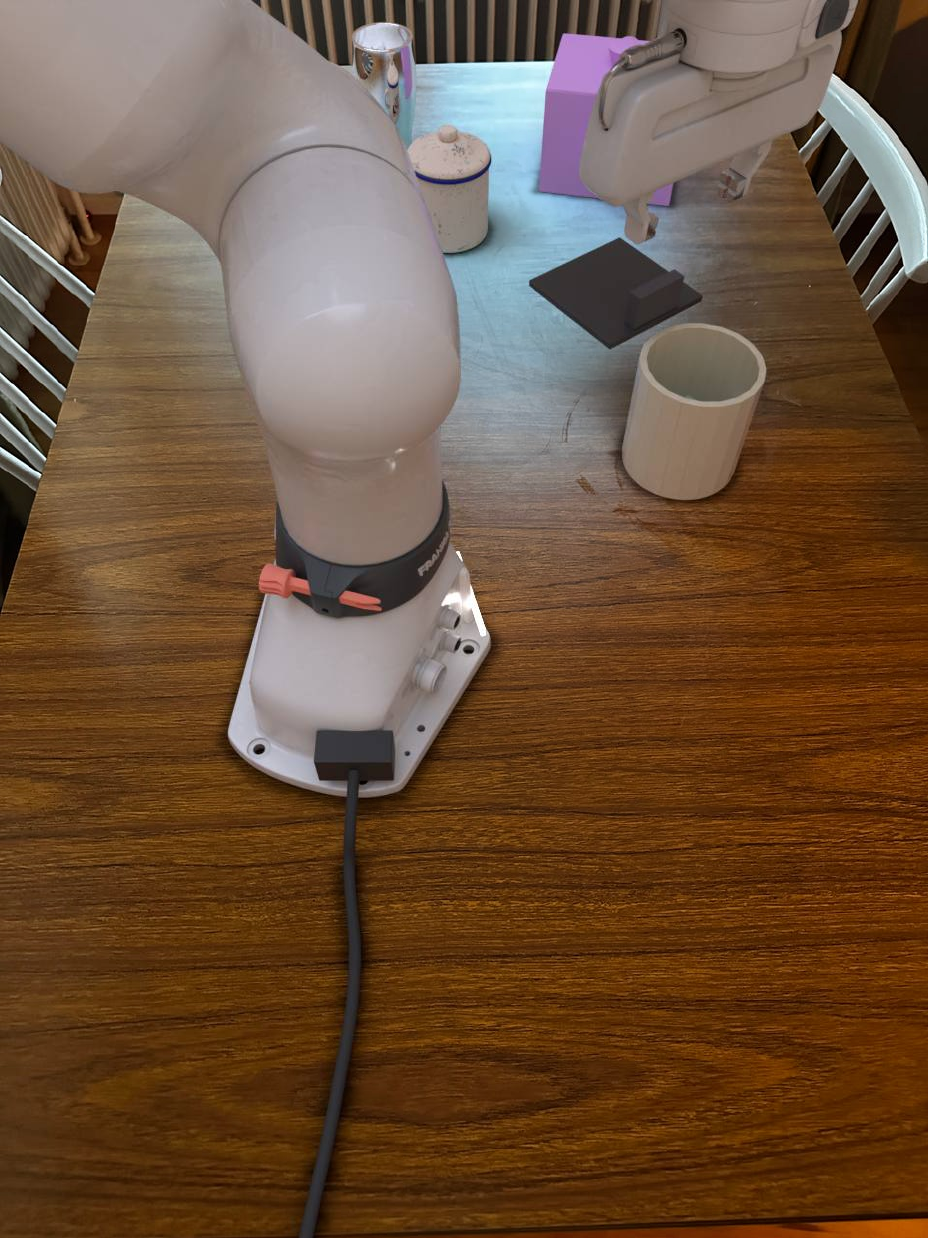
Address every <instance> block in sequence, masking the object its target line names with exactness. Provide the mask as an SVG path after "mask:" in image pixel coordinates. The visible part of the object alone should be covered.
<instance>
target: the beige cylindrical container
mask: <svg viewBox="0 0 928 1238" xmlns="http://www.w3.org/2000/svg"><path fill="white" fill-rule="evenodd" d="M636 367H637V369H636V372H635V373H636V374H635V378H634V384H633V389H632V394H631V399H630V405H629V410H628V415H627V420H626V426H625V429H624V430H625V432H624V436H623V441H622V446H621V459H622V464H623V466H624V468H625V469H624V470H625V471H626V472H627V474H628V475H629V476H630V478H631V479H632V480H633V481H634V482H635V483H636V484H637V485H639V486H640V487H641V488H643V489H644V490H646V491H648V492H650V493H652V494H654V495H656V496H660V497H662V498H666V499H671V500H677V501H693V500H700V499H704V498H708V497H710V496H713V495H714V494H717V493H718V492H720V491H721V490H722V489H724V488H725V487H726V486H727V485H728V483H729V482H730V481H731V479H732V477H733V475H734V474H735V472H736V468H737V465H738V463H739V459H740V456H741V453H742V450H743V447H744V444H745V441H746V439H747V435H748V432H749V430H750V427H751V424H752V420H753V418H754V415H755V411H756V407H757V406H758V403H759V400H760V396H761V393H762V390H763V388H764V385H765V381H766V376H767V371H768V370H767V365H766V362H765V359H764V356H763V355H762V353H761V352H760V350H759V349H758V348H757V347H756V345H755V344H754V343H753V342H751V341H750V340H749V339H747V338H746V337H744V336H743V335H742V334H740V333H739V332H735V331H734V330H731V329H729V328H726V327H724V326H719V325H714V324H710V323H703V322H685V323H679V324H676V325H671V326H667V327H664V328H662V329H661V330H659V331H657V332H655V333H653V334H652V335H651V336H650V337H649V338H648V339H647V340H646V341H645V343H644V344H643V345H642V347H641V350H640V354H639V357H638V361H637V366H636ZM687 395H690V396H691V397H693V398H694V399H695V400H692V399H688V398H684V397H686V396H687Z"/></svg>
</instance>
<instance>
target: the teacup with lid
mask: <svg viewBox="0 0 928 1238" xmlns="http://www.w3.org/2000/svg"><path fill="white" fill-rule="evenodd" d="M407 151H408V154H409V157H410V160H411V163H412V165H413V168H414V171H415V174H416V177H417V180H418V183H419V186H420V189H421V192H422V195H423V198H424V201H425V204H426V207H427V209H428V211H429V213H430V216H431V219H432V222H433V225H434V228H435V231H436V234H437V237H438V240H439V243H440V246H441V249H442V252H443V254H455V253H460V252H461V253H462V252H465V251H468V250H471V249H473V248H475V247H477V246H478V245H480V244H481V243H482V242H483V241H484V239H485V238H486V236H487V234H488V232H489V231H488V230H489V194H490V193H489V192H490V191H489V190H490V189H489V188H490V167H491V165H492V153H491V151H490V148H489V147H488V144H486V143H485V142H484V140H482V139H481V138H479V136H476V135H473V134H471V133H469V132H465V131H461V130H460V131H459V130H458V129H457V127H455V125H453V124H444V125H441V126H440V127H439V128H438V130H437V131H432V132H428V133H426V134H423V135H421V136H419V137H418V138H416V139H414V140H413V141H412V144H411V145H410V146H409V148H408V150H407Z"/></svg>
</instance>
